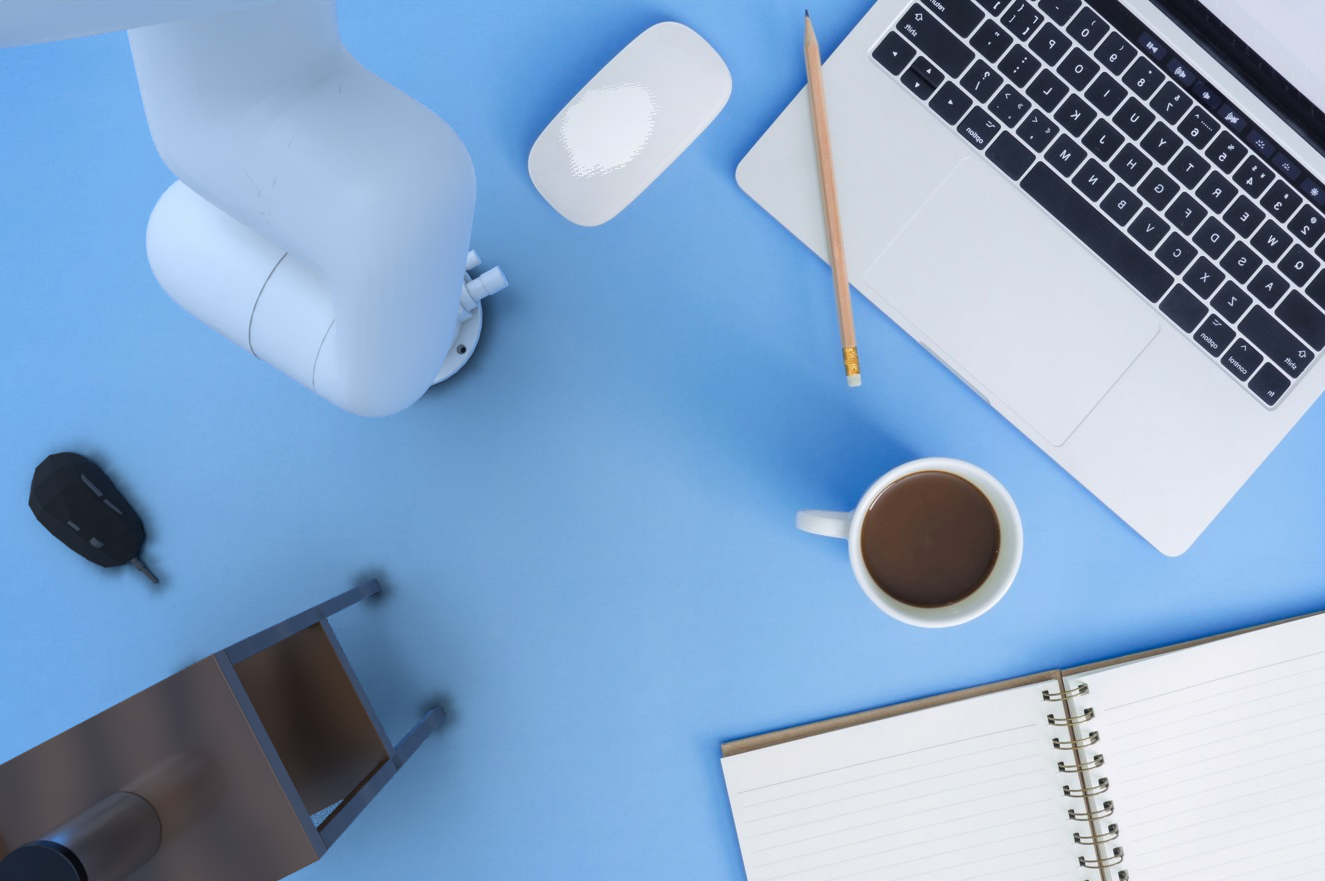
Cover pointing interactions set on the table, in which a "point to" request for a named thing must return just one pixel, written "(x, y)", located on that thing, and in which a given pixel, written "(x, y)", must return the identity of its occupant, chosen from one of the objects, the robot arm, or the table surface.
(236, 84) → the robot arm
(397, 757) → the rack frame
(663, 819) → the table surface
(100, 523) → the gaming mouse
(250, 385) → the table surface
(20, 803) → the top shelf
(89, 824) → the steel tin
